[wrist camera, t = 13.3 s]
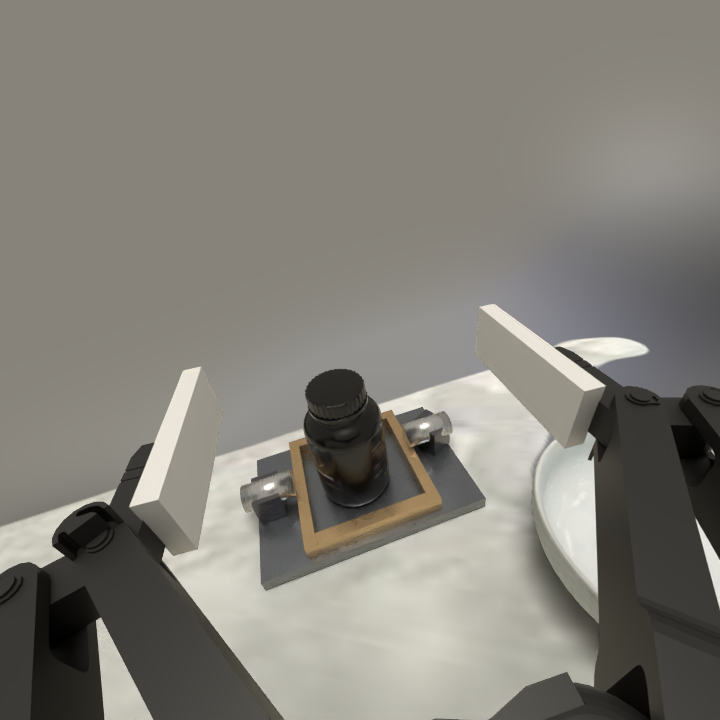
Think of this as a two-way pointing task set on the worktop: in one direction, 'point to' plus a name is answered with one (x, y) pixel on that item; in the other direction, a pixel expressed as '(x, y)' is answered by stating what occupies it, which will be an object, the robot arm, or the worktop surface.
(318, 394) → the supplement bottle
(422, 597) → the worktop surface
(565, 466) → the cereal bowl
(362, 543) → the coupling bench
